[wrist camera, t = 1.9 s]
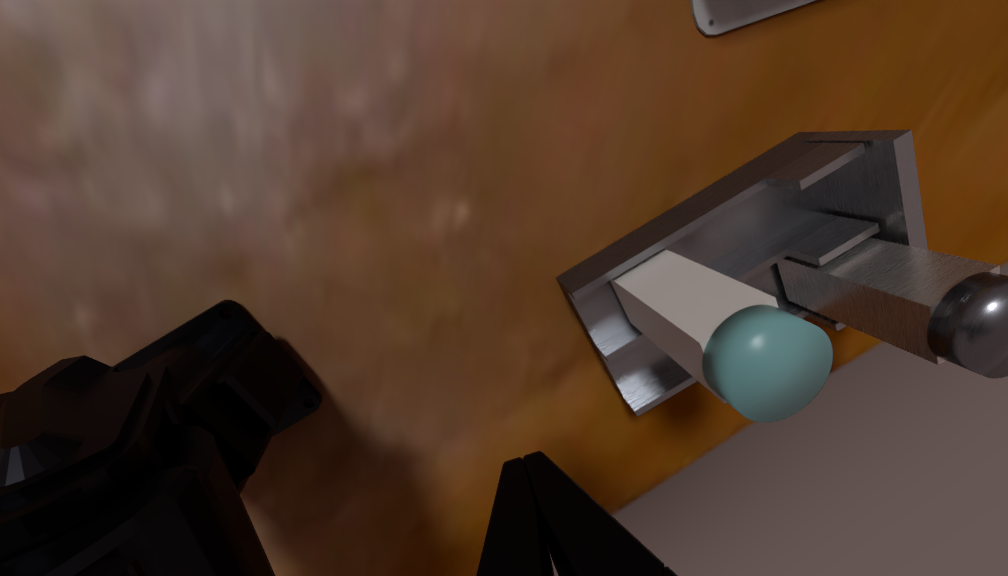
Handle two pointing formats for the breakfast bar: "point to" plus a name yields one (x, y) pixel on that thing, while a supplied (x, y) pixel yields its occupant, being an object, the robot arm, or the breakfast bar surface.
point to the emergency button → (736, 12)
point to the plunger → (727, 335)
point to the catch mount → (807, 260)
